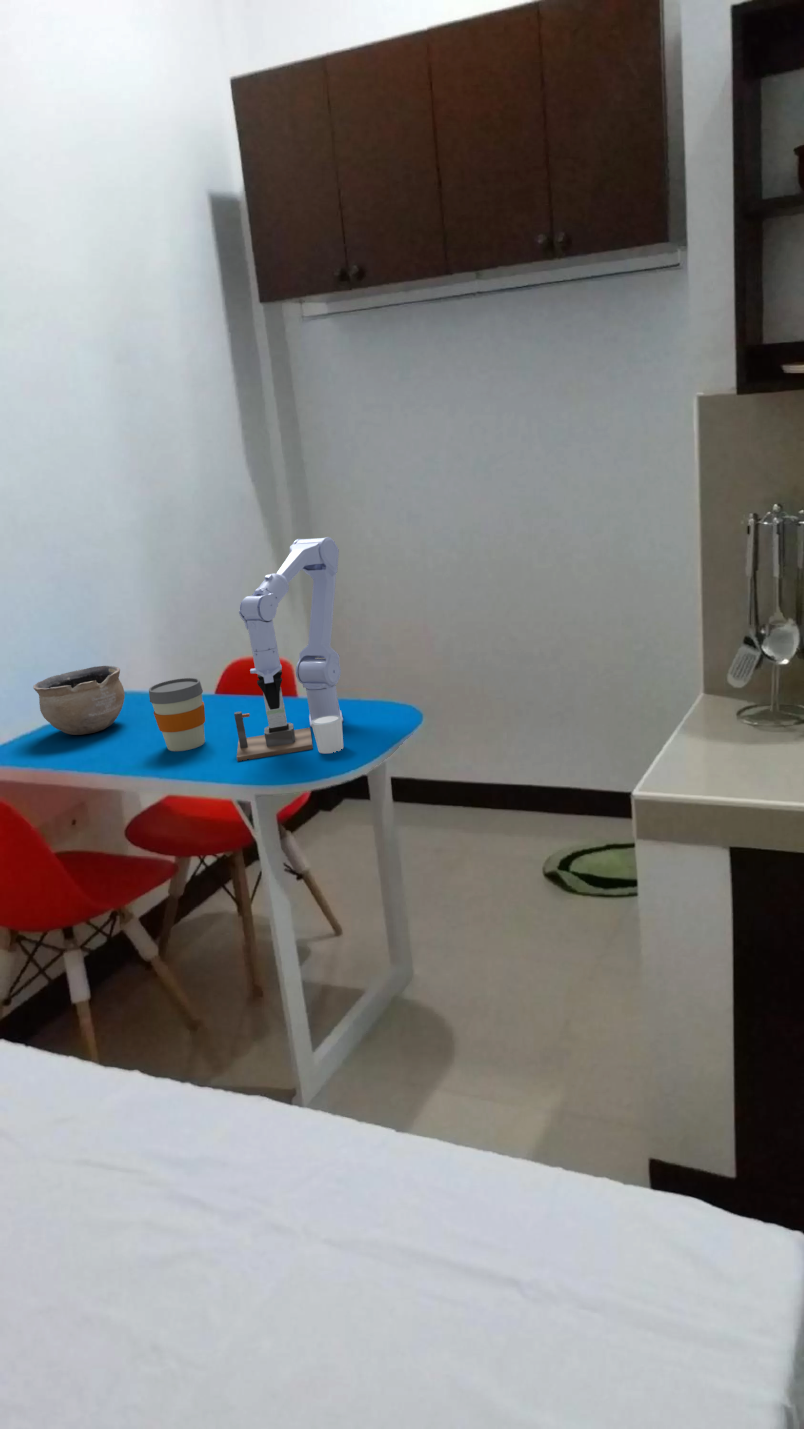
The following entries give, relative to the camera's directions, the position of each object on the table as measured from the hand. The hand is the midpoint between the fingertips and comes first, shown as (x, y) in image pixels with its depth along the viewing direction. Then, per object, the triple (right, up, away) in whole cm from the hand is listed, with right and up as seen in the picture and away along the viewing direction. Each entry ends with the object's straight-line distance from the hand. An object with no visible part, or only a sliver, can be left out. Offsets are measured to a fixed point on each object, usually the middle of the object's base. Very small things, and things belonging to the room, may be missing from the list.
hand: (274, 706), depth 248 cm
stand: (0, -9, +3) cm, 10 cm away
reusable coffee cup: (-23, -9, +14) cm, 28 cm away
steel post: (+1, -4, +1) cm, 4 cm away
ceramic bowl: (-54, -6, +39) cm, 67 cm away
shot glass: (+13, -10, -5) cm, 17 cm away
